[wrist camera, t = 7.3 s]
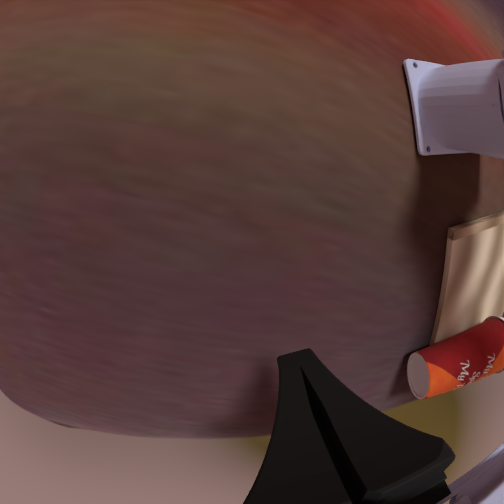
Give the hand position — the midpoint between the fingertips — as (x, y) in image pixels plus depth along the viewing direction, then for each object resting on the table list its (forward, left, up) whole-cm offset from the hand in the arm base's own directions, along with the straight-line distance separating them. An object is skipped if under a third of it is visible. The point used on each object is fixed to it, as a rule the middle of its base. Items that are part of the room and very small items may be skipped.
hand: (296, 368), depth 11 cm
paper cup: (-14, +16, -7) cm, 22 cm away
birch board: (-26, +10, -10) cm, 30 cm away
